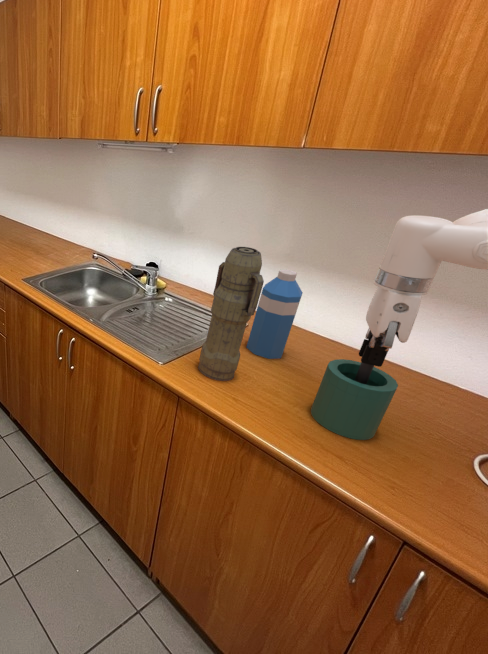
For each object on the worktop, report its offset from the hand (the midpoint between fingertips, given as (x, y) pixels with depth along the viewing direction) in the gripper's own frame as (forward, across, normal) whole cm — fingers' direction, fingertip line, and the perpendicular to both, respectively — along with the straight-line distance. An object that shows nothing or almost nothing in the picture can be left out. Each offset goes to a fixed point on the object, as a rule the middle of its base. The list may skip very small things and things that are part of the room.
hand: (369, 360), depth 83 cm
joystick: (+13, 0, 0) cm, 13 cm away
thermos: (+17, +6, +26) cm, 32 cm away
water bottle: (+17, +25, +16) cm, 34 cm away
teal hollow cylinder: (+17, 0, 0) cm, 17 cm away
